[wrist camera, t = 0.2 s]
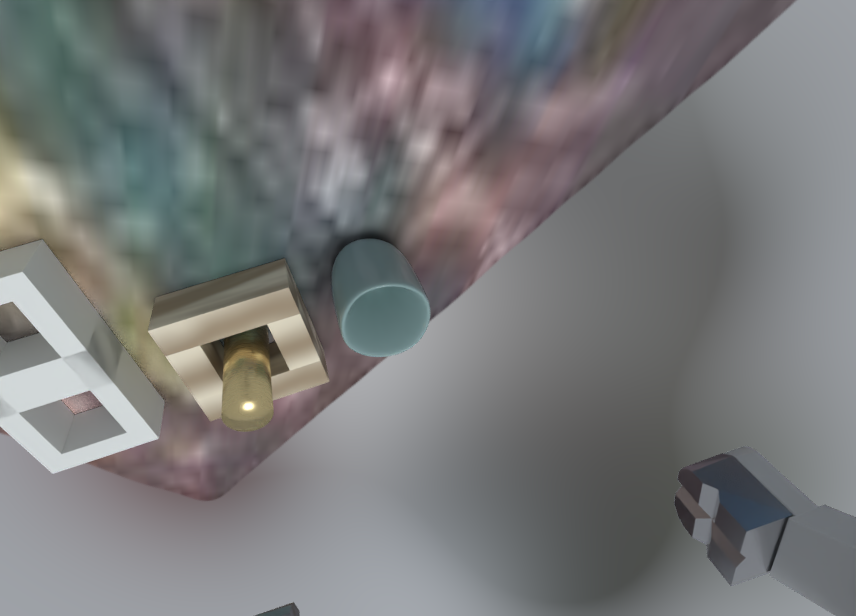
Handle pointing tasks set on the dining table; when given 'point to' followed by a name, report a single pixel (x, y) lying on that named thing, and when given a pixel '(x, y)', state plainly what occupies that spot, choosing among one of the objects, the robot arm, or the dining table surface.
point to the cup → (378, 299)
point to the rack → (67, 369)
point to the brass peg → (247, 380)
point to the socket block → (238, 331)
